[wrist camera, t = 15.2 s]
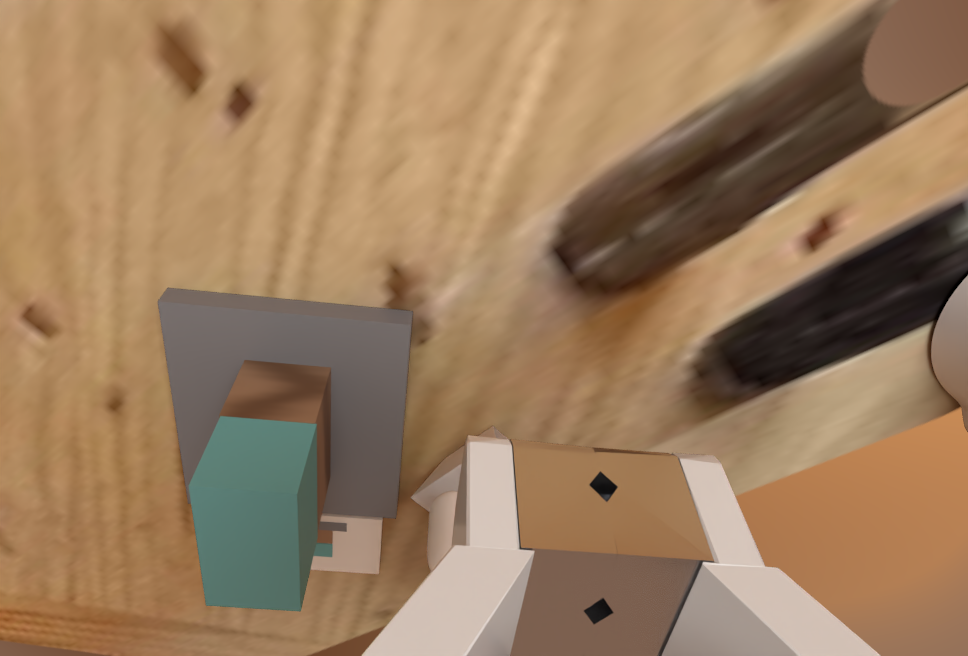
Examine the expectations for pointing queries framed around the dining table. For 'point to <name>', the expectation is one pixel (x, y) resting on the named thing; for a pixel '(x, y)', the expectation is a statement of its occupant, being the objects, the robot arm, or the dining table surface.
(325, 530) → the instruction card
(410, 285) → the dining table surface
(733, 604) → the robot arm
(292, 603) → the teal block
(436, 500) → the figurine
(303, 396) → the walnut block
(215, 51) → the dining table surface
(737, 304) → the dining table surface
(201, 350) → the baseplate
